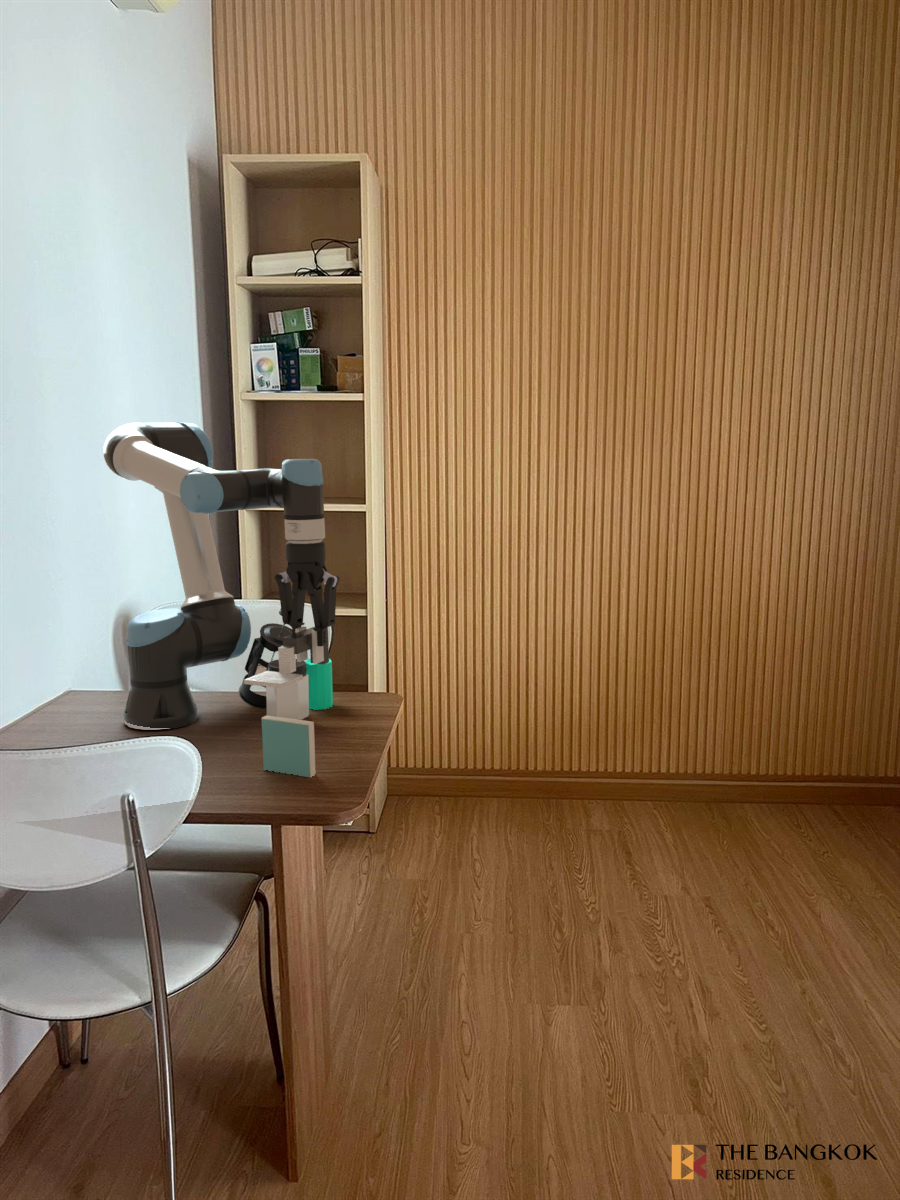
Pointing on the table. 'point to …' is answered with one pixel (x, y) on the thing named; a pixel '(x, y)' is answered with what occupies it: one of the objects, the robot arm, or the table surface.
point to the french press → (256, 665)
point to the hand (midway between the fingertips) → (310, 661)
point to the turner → (289, 660)
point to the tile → (288, 746)
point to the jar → (289, 695)
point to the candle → (320, 685)
